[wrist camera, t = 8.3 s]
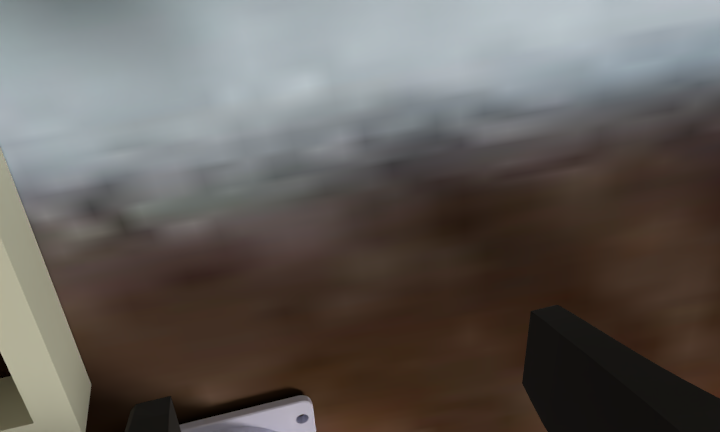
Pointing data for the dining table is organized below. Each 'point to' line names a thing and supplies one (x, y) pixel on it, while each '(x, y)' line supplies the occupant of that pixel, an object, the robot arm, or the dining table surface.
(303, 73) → the dining table surface
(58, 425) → the peg frame
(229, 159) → the dining table surface
